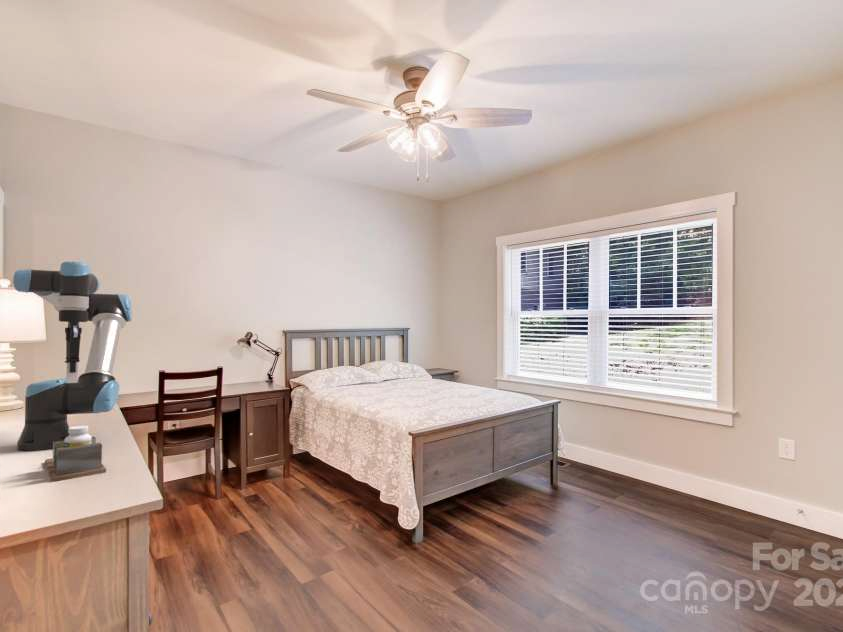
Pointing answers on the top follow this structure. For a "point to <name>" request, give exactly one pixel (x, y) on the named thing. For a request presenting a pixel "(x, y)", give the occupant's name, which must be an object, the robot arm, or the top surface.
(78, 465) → the vise bed
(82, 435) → the pill bottle
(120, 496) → the top surface
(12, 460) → the top surface
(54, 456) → the sliding jaw
